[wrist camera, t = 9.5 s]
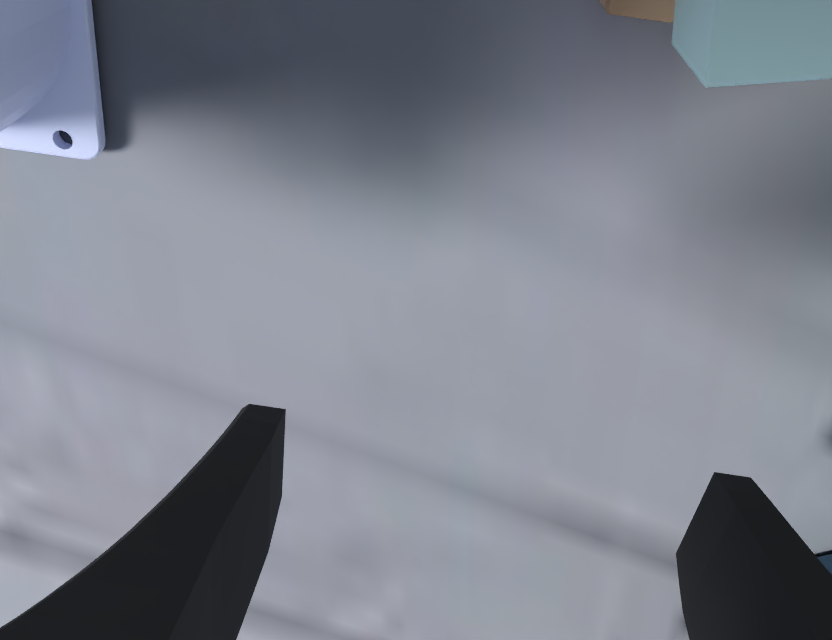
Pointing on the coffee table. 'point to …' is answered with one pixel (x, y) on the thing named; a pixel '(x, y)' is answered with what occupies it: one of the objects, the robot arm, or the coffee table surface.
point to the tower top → (754, 40)
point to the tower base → (641, 9)
